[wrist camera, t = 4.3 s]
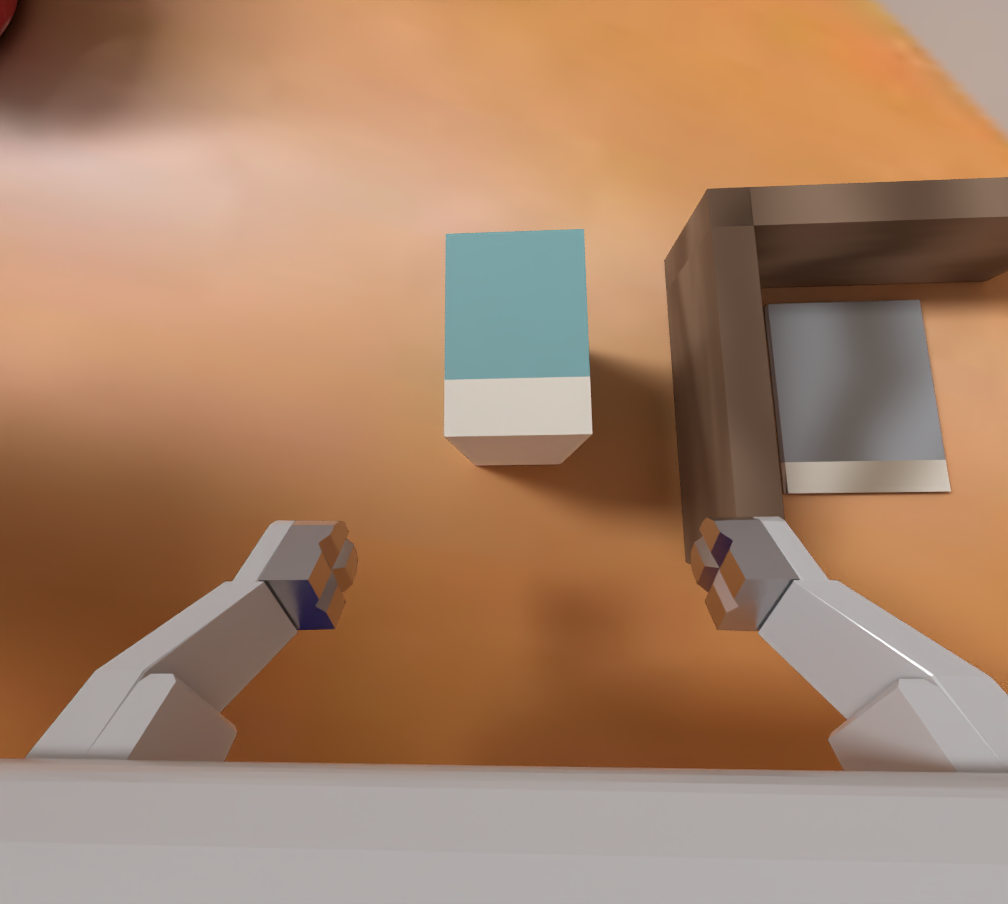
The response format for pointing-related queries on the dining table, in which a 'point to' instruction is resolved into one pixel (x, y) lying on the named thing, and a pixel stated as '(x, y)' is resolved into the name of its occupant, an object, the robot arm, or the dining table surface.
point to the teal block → (516, 346)
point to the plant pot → (6, 13)
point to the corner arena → (815, 338)
